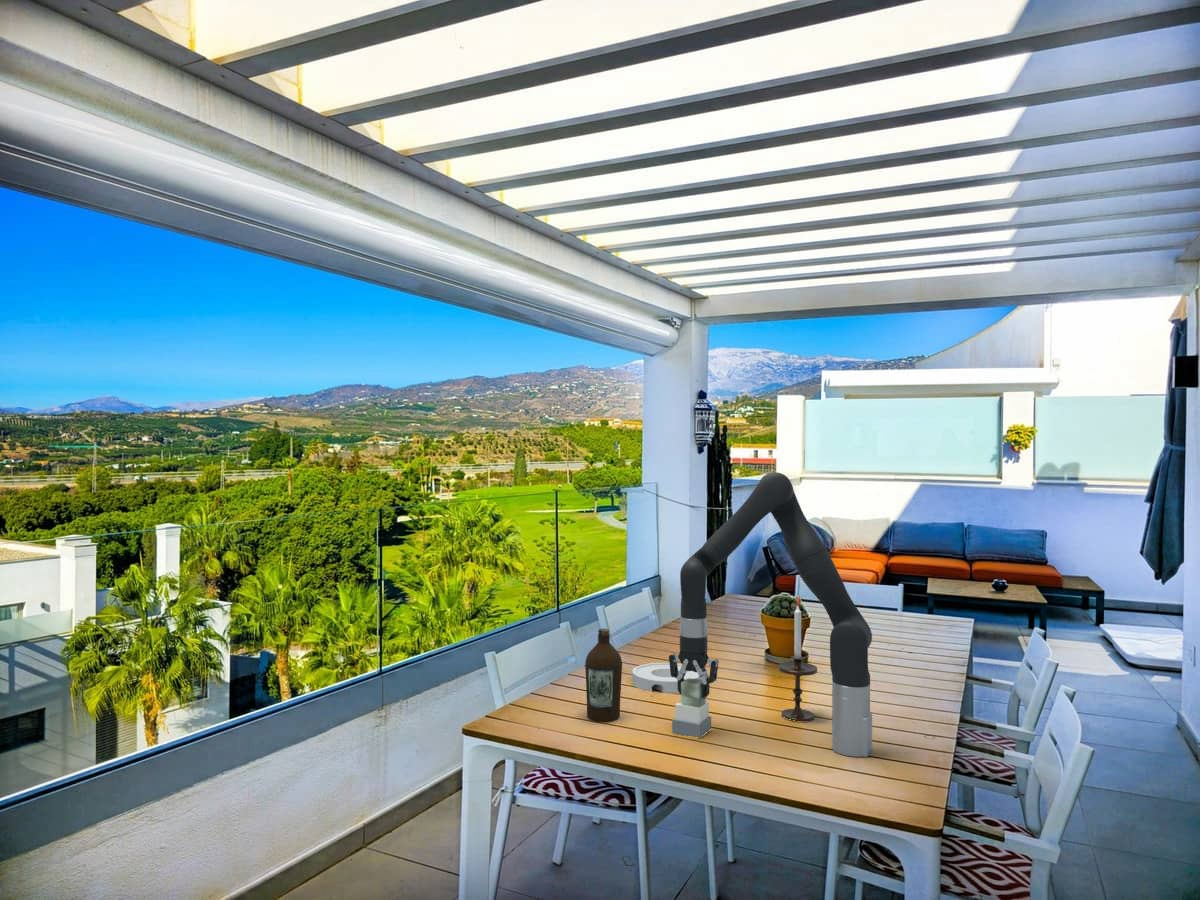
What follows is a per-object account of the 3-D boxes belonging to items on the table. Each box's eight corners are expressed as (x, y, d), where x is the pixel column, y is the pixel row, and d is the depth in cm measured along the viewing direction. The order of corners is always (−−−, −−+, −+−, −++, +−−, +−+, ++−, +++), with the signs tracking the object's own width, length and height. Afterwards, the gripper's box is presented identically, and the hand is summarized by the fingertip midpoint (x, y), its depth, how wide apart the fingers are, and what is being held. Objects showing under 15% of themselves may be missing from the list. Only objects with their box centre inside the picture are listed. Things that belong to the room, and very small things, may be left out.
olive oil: (589, 709, 228) (590, 624, 229) (625, 712, 226) (625, 626, 226) (580, 721, 218) (581, 632, 218) (617, 724, 216) (618, 634, 216)
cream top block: (708, 716, 212) (708, 701, 212) (699, 723, 206) (699, 708, 206) (685, 712, 216) (685, 697, 216) (674, 719, 209) (675, 704, 209)
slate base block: (711, 731, 212) (711, 716, 212) (699, 740, 205) (699, 724, 205) (684, 726, 216) (684, 711, 216) (672, 734, 209) (672, 719, 209)
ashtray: (652, 697, 242) (652, 684, 242) (620, 678, 263) (620, 666, 263) (715, 689, 251) (715, 676, 251) (679, 671, 272) (679, 660, 272)
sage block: (705, 702, 211) (705, 680, 211) (698, 707, 207) (698, 684, 207) (688, 699, 214) (688, 678, 214) (681, 704, 209) (681, 682, 209)
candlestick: (802, 709, 230) (802, 591, 231) (825, 720, 220) (825, 597, 220) (770, 713, 226) (771, 593, 227) (792, 725, 216) (793, 599, 217)
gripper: (723, 633, 210) (723, 696, 210) (675, 628, 217) (674, 688, 217) (713, 639, 204) (713, 703, 203) (663, 633, 211) (663, 694, 211)
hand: (693, 695), depth 210 cm, fingers open, 6 cm apart
